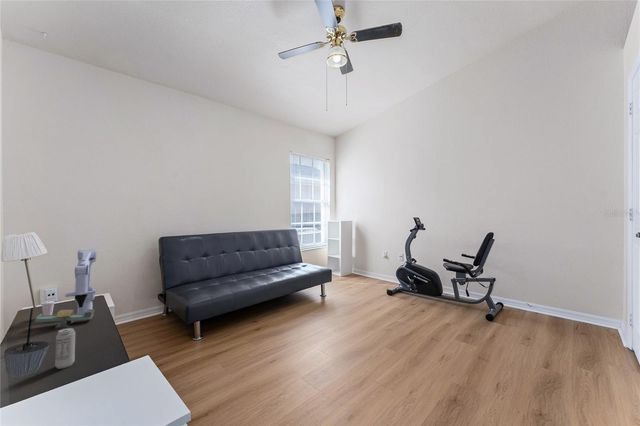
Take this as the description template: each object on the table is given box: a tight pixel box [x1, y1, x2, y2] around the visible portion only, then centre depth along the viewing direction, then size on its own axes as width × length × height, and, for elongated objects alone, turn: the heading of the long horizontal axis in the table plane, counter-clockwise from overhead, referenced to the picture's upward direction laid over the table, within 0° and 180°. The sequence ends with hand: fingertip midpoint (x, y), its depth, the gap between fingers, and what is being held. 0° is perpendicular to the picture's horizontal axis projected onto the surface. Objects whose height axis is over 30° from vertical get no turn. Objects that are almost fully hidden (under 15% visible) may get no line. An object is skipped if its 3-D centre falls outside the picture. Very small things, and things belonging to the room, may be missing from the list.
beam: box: [34, 308, 95, 323], centre depth 163 cm, size 9×25×4 cm, turn 119°
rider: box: [56, 309, 74, 318], centre depth 163 cm, size 5×6×4 cm
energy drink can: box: [54, 327, 76, 370], centre depth 115 cm, size 6×6×15 cm
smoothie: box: [40, 295, 56, 315], centre depth 176 cm, size 6×6×14 cm
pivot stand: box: [54, 319, 76, 330], centre depth 163 cm, size 12×6×5 cm, turn 29°
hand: (81, 307), depth 166 cm, fingers closed
